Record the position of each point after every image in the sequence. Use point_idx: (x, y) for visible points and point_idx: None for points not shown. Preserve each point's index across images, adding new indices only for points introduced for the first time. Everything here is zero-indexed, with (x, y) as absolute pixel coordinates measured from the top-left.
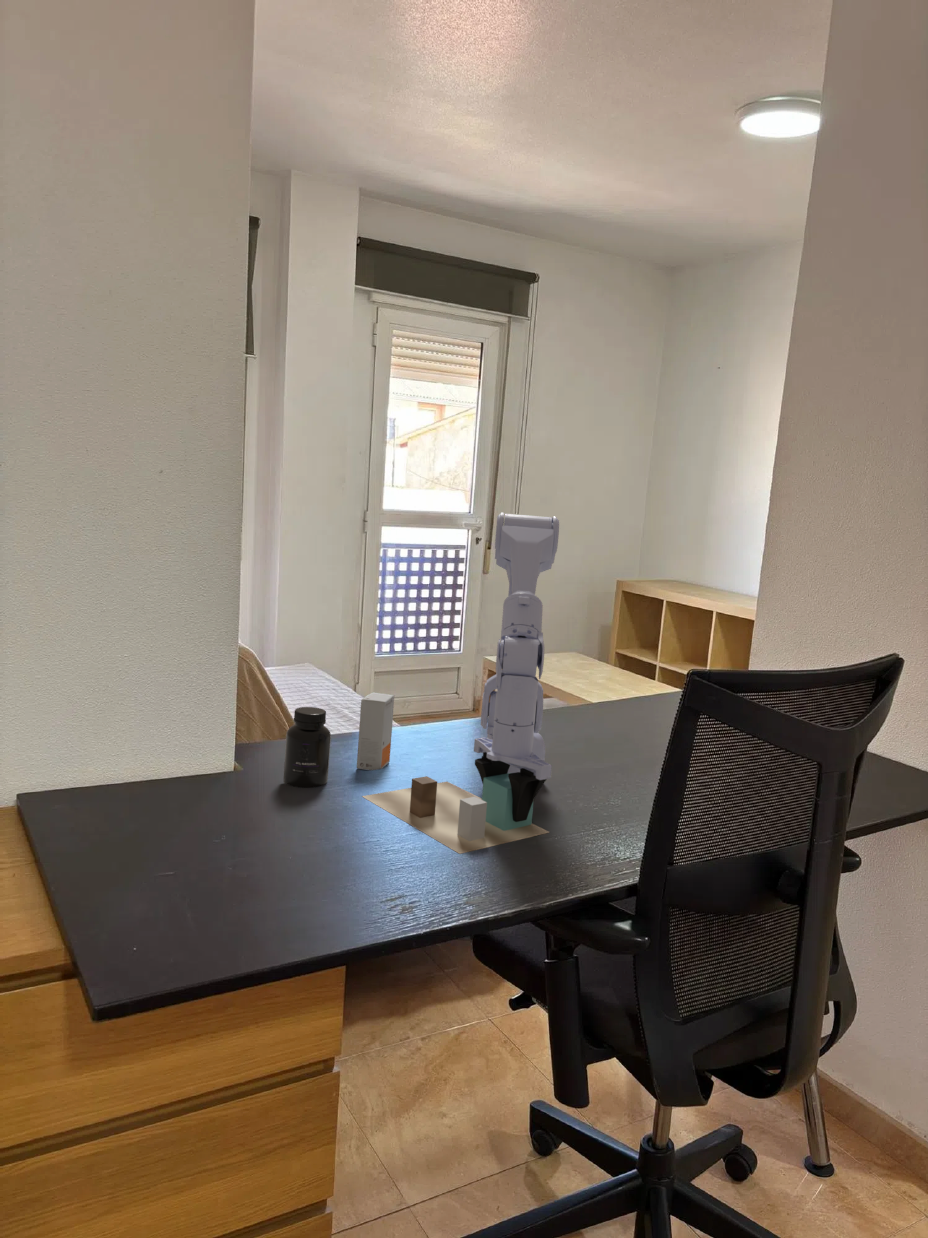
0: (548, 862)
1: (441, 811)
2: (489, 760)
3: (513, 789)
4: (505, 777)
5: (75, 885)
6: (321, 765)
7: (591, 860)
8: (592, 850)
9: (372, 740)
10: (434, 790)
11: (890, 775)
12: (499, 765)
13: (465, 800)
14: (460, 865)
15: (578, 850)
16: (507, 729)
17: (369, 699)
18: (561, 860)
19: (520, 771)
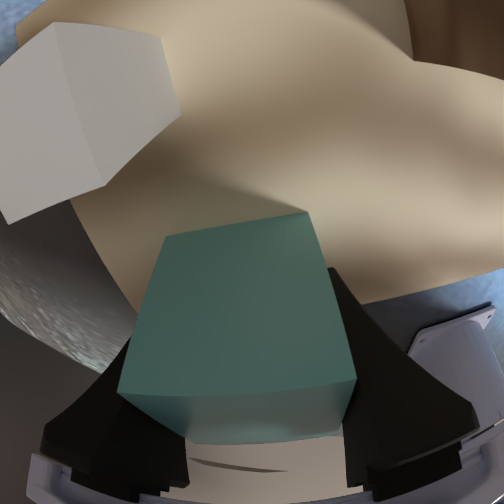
0: (24, 253)
1: (433, 111)
2: (395, 473)
3: (109, 400)
4: (297, 426)
5: None
6: None
7: (53, 320)
8: (95, 343)
9: None
10: (496, 62)
11: (259, 470)
12: (354, 460)
13: (27, 69)
14: (5, 29)
15: (90, 327)
16: None
17: None
18: (38, 280)
19: (127, 489)
